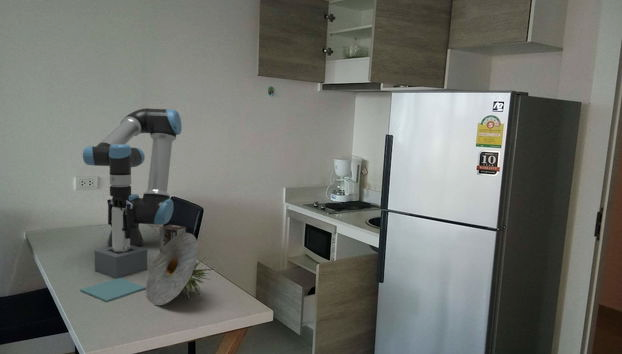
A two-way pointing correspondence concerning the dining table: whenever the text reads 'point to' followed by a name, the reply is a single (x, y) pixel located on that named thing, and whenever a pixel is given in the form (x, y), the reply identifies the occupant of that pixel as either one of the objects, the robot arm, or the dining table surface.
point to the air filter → (118, 231)
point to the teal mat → (112, 289)
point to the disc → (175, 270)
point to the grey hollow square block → (120, 261)
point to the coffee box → (170, 233)
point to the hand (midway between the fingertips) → (121, 244)
